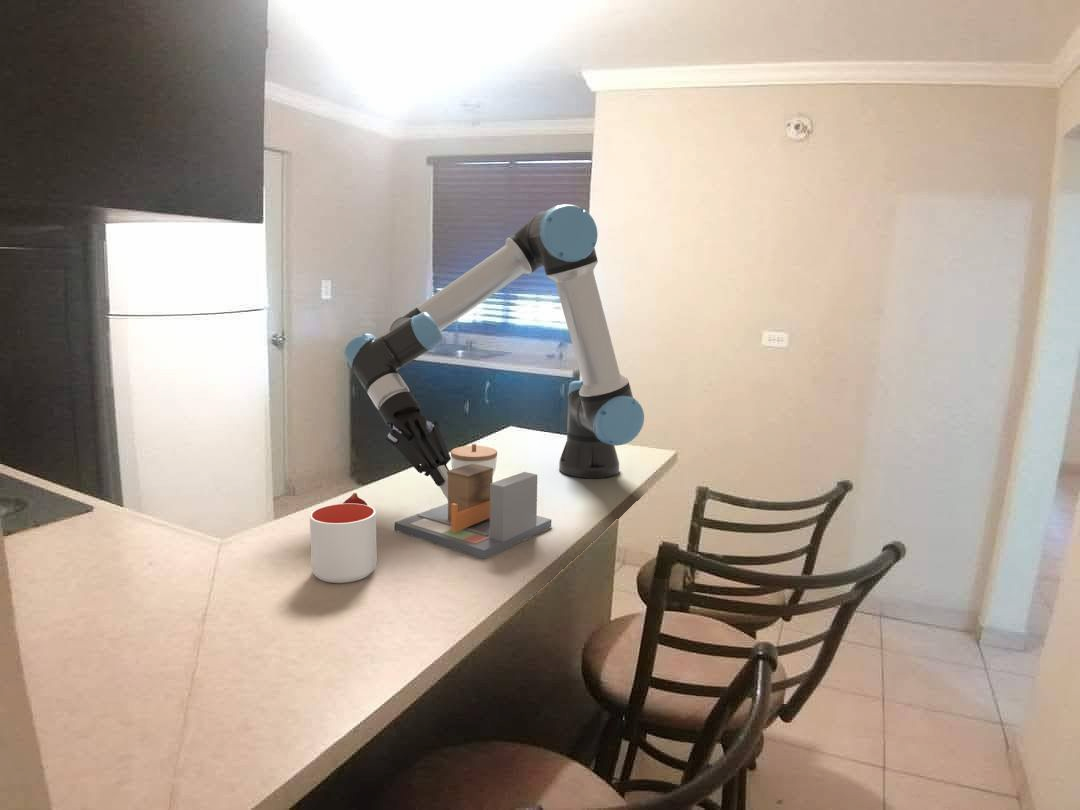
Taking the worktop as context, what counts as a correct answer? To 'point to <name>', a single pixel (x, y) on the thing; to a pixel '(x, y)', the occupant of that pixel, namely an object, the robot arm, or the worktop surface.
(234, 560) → the worktop surface
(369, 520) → the cup
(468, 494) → the brown rectangular block
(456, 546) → the base
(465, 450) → the lidded jar
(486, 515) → the orange bracket
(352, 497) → the onion
